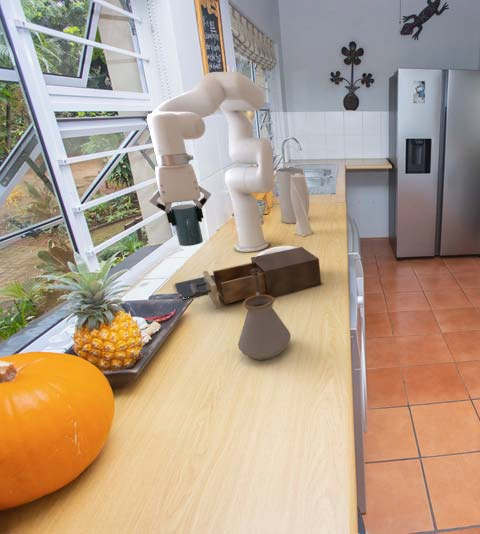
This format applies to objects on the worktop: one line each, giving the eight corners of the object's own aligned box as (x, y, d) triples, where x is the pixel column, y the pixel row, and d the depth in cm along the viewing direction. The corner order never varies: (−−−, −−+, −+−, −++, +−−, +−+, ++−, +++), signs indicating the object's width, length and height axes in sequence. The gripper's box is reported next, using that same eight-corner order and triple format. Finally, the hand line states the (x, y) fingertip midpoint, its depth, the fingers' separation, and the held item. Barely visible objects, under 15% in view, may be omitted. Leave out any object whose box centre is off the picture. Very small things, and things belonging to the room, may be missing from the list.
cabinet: (268, 298, 114) (264, 271, 110) (255, 283, 124) (250, 257, 121) (321, 284, 123) (318, 258, 119) (304, 270, 133) (301, 246, 130)
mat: (175, 285, 123) (175, 283, 123) (218, 275, 130) (218, 273, 130) (181, 300, 113) (181, 298, 113) (228, 288, 120) (227, 287, 120)
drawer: (199, 313, 104) (193, 290, 101) (191, 296, 114) (186, 274, 111) (272, 293, 115) (269, 272, 112) (259, 279, 124) (256, 259, 121)
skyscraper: (316, 233, 173) (310, 169, 162) (304, 237, 167) (297, 171, 157) (304, 230, 177) (297, 168, 166) (292, 234, 171) (284, 170, 161)
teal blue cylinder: (177, 241, 117) (169, 206, 113) (200, 238, 120) (193, 203, 116) (181, 248, 111) (172, 211, 107) (205, 244, 114) (198, 208, 110)
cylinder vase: (284, 217, 198) (278, 168, 189) (309, 216, 199) (304, 167, 190) (280, 224, 187) (273, 172, 177) (306, 223, 188) (301, 171, 178)
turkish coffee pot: (295, 358, 86) (286, 298, 81) (240, 370, 83) (227, 308, 77) (285, 314, 105) (278, 263, 99) (240, 322, 101) (229, 270, 95)
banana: (311, 254, 148) (306, 269, 134) (261, 258, 147) (251, 273, 133) (309, 242, 146) (304, 256, 133) (259, 246, 145) (248, 260, 131)
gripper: (204, 157, 114) (215, 215, 121) (135, 161, 105) (151, 225, 112) (209, 159, 109) (221, 221, 116) (136, 164, 100) (154, 231, 106)
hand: (186, 222), depth 114 cm, fingers closed on teal blue cylinder, 6 cm apart
